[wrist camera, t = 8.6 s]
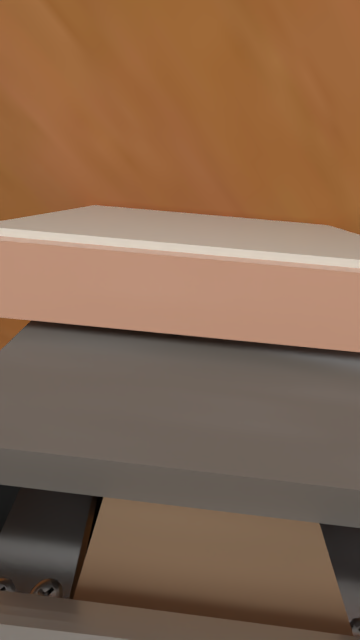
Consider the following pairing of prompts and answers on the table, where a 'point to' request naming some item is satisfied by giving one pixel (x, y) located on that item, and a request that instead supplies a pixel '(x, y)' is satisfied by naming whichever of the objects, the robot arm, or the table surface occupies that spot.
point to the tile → (184, 275)
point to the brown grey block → (192, 465)
